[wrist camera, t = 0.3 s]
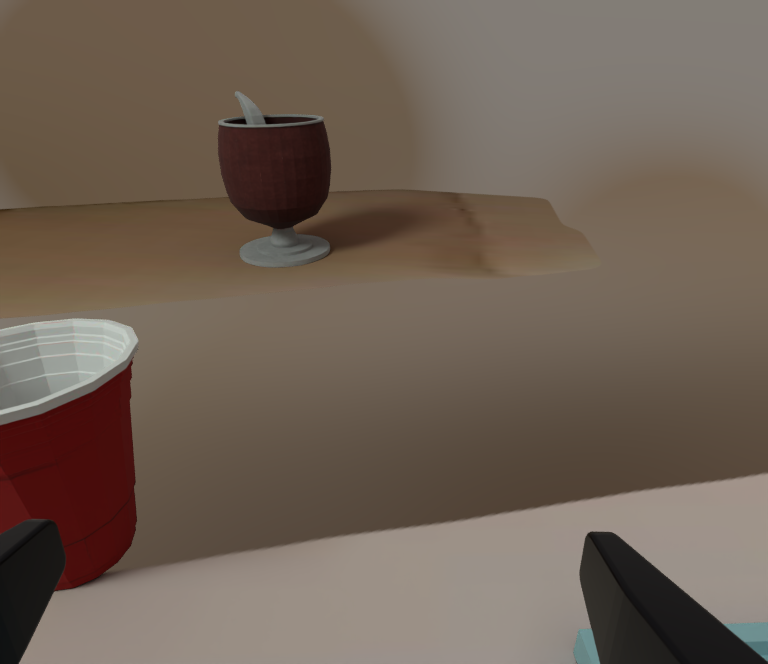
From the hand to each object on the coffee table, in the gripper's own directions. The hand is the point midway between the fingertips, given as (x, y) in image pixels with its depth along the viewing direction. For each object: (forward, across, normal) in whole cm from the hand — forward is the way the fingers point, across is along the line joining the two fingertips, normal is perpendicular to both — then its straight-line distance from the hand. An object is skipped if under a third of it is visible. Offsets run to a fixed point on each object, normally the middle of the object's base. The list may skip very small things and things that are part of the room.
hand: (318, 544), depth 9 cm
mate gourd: (+65, +15, +10) cm, 68 cm away
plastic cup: (+15, +16, +15) cm, 27 cm away
